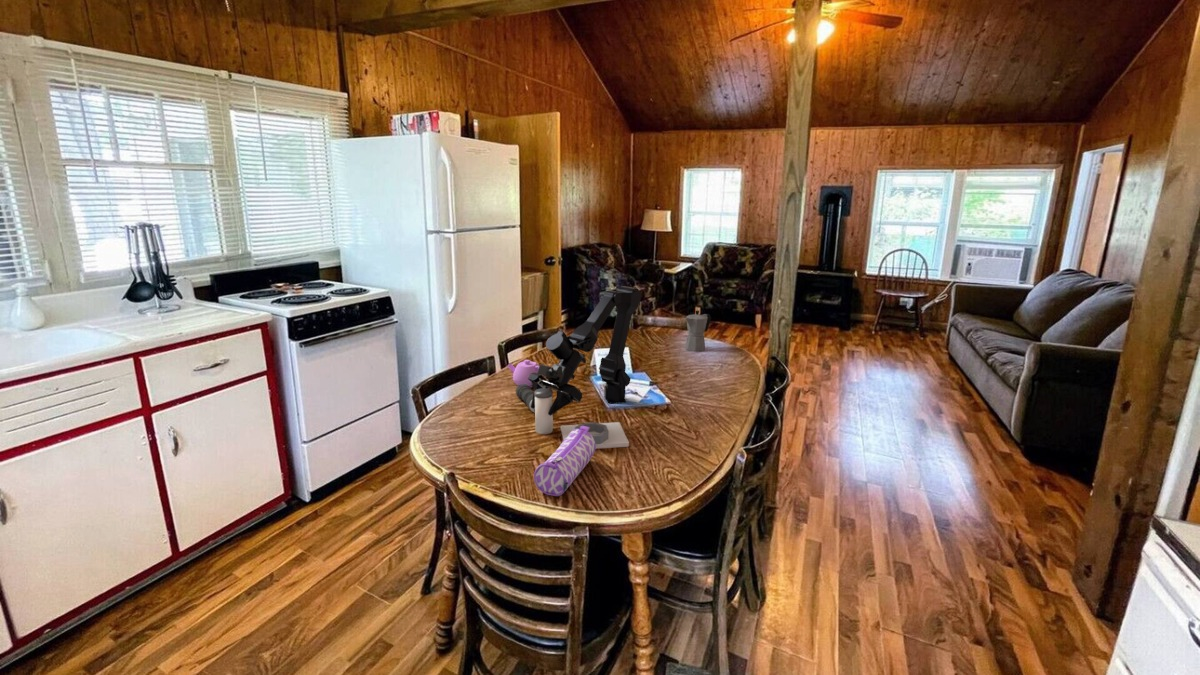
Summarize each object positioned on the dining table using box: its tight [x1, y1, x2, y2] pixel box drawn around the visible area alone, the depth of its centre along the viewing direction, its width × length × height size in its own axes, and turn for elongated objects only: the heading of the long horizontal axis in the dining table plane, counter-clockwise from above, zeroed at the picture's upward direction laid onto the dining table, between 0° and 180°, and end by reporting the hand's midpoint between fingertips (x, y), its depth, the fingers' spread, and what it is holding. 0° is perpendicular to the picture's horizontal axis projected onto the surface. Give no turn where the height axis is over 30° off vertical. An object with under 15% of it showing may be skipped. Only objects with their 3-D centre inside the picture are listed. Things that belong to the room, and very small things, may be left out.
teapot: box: [507, 359, 541, 389], centre depth 202 cm, size 10×15×9 cm
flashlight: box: [515, 384, 535, 414], centre depth 183 cm, size 15×5×5 cm, turn 28°
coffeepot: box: [684, 310, 712, 353], centre depth 248 cm, size 15×9×18 cm, turn 125°
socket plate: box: [560, 421, 630, 450], centre depth 160 cm, size 18×14×4 cm
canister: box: [533, 388, 554, 435], centre depth 163 cm, size 5×5×12 cm
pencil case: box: [533, 426, 596, 497], centre depth 138 cm, size 22×9×9 cm, turn 161°
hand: (540, 411), depth 162 cm, fingers open, 7 cm apart
